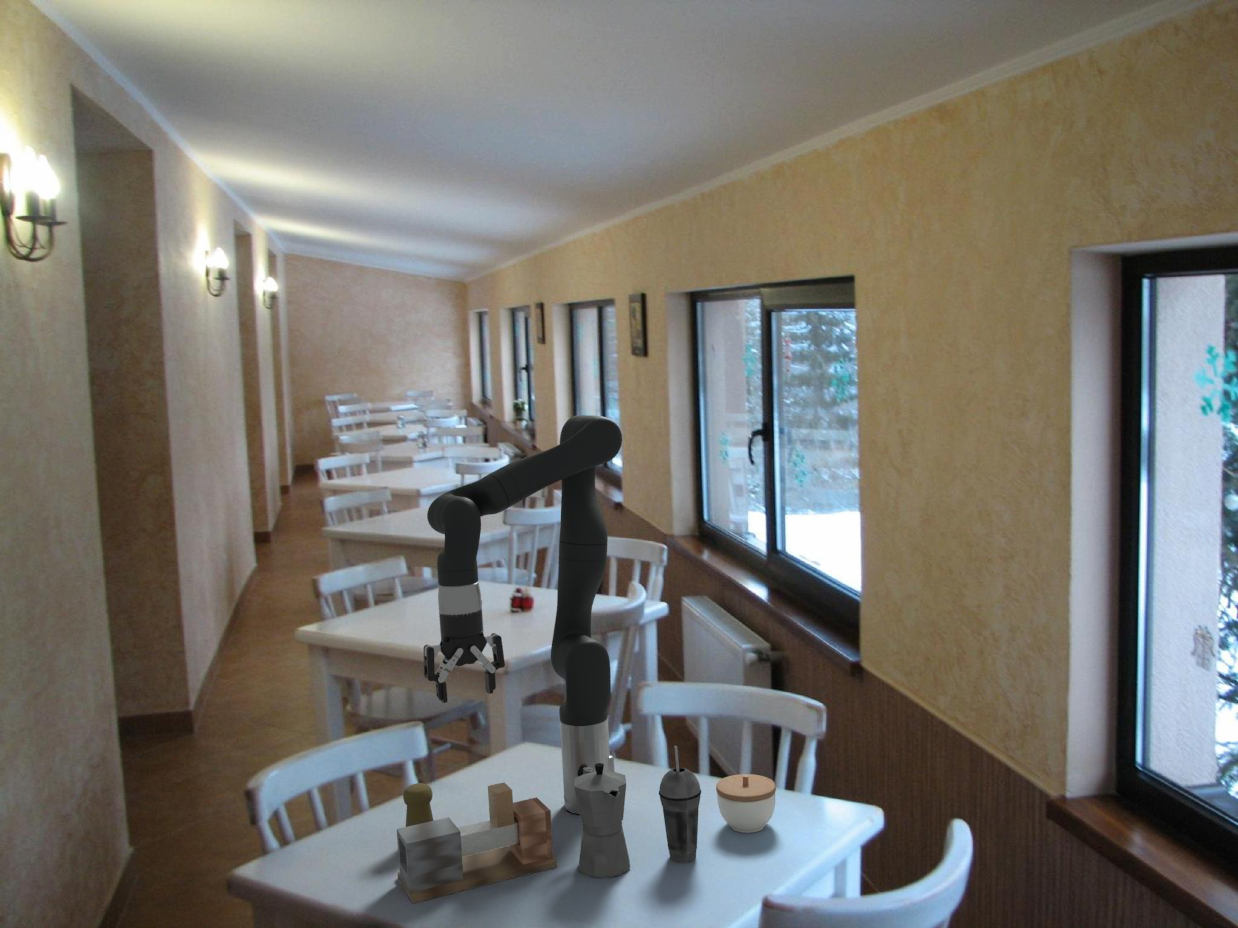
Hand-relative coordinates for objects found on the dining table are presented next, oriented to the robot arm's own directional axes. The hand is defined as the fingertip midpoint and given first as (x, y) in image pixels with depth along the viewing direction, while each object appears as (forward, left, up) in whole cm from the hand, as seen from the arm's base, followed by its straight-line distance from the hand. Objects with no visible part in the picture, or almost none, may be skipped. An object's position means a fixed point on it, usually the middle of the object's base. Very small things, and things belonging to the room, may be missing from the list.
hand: (466, 697), depth 197 cm
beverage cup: (-29, +24, -27) cm, 47 cm away
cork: (+9, -5, -27) cm, 29 cm away
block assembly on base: (+4, +11, -27) cm, 30 cm away
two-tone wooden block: (+1, +12, -23) cm, 25 cm away
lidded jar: (-45, +19, -27) cm, 56 cm away
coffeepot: (-16, +19, -27) cm, 37 cm away
